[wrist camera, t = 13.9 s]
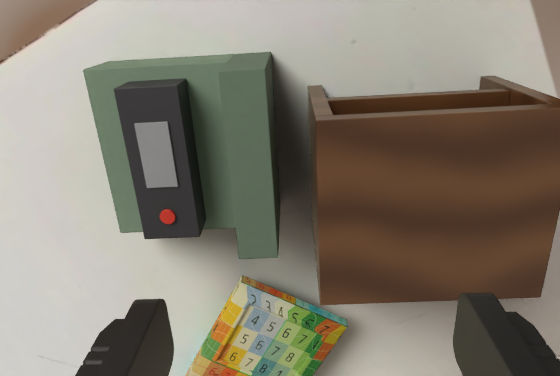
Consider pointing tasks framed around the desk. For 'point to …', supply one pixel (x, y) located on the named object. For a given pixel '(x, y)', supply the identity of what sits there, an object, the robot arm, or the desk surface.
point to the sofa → (206, 141)
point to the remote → (162, 156)
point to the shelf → (433, 193)
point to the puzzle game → (267, 335)
